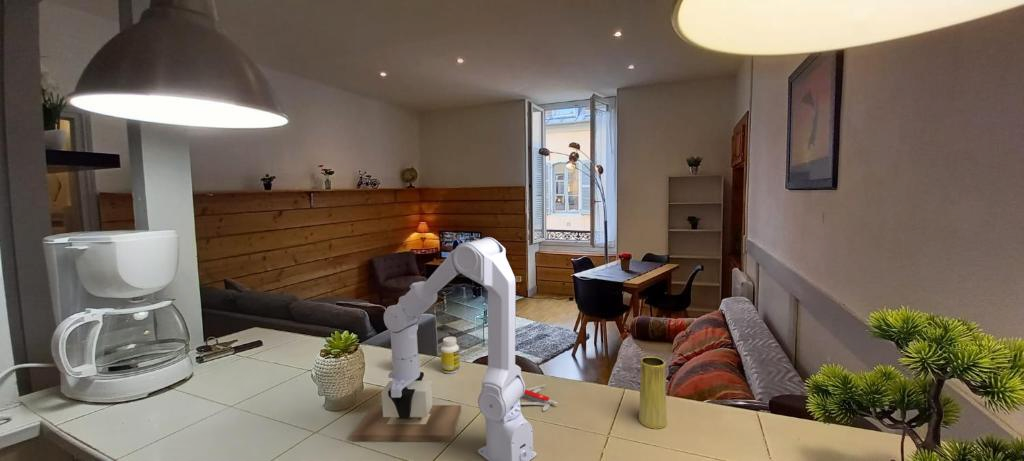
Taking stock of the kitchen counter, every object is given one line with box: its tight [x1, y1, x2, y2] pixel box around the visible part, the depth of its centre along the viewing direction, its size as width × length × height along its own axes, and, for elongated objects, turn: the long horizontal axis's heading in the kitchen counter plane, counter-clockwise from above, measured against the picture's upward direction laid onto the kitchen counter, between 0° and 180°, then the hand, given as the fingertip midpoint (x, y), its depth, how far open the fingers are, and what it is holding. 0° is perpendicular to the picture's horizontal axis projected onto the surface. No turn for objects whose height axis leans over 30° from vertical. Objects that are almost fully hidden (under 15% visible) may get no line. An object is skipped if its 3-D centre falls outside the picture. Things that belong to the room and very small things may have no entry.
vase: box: [638, 356, 668, 430], centre depth 89 cm, size 6×6×14 cm
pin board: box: [350, 404, 462, 443], centre depth 91 cm, size 22×12×4 cm, turn 87°
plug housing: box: [381, 380, 434, 417], centre depth 91 cm, size 10×5×6 cm, turn 87°
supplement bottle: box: [440, 336, 461, 374], centre depth 119 cm, size 5×5×10 cm
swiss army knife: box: [520, 384, 558, 412], centre depth 100 cm, size 12×14×2 cm
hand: (408, 411), depth 91 cm, fingers closed on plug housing, 5 cm apart
